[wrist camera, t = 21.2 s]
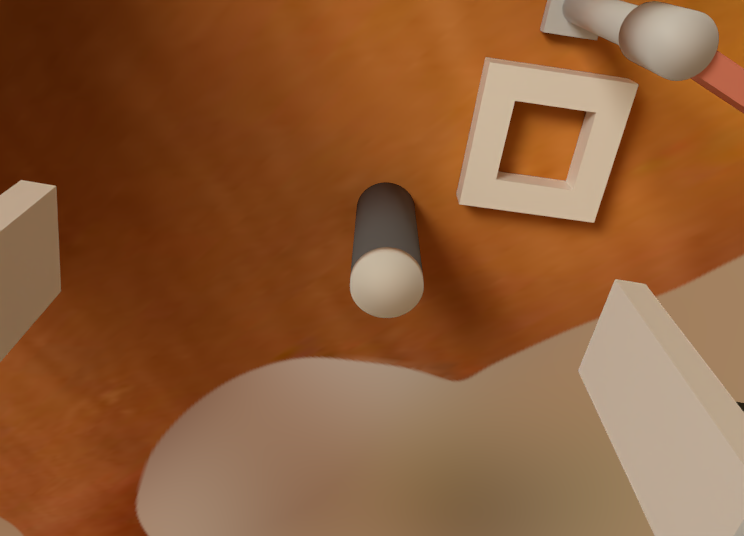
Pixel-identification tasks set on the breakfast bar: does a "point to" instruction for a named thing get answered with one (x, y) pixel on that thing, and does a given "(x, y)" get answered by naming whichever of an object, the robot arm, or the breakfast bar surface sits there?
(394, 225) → the dark grey cylinder
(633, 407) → the robot arm
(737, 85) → the clip
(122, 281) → the breakfast bar surface
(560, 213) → the socket
